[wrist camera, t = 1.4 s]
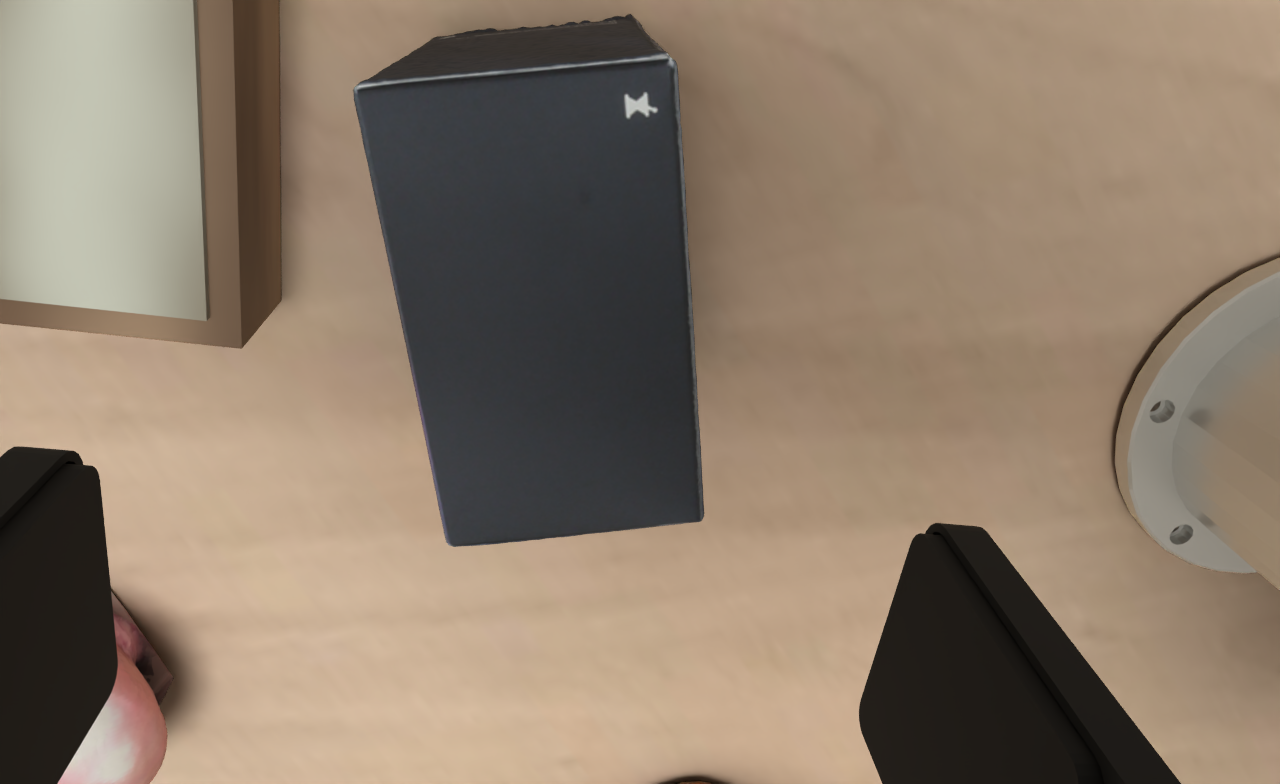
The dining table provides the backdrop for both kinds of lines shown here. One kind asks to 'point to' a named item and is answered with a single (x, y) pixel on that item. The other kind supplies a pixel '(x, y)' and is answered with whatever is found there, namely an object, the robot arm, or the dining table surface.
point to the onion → (126, 716)
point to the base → (140, 167)
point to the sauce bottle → (698, 783)
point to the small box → (542, 276)
